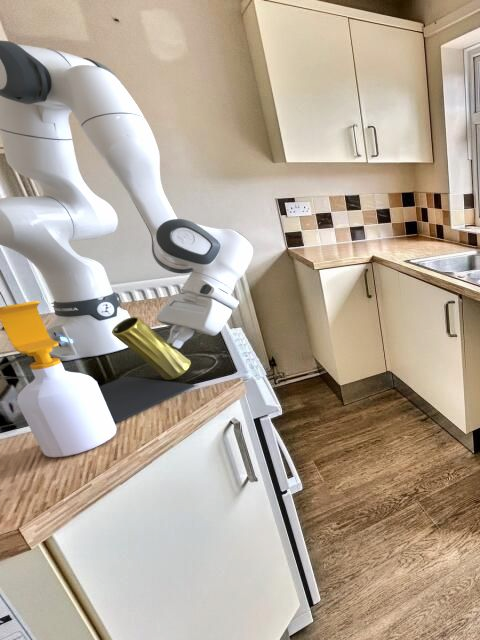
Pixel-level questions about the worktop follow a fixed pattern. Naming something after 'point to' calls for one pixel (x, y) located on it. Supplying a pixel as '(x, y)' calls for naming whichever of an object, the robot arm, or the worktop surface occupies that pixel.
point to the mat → (137, 395)
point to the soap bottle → (55, 390)
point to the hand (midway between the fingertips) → (172, 346)
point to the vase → (151, 348)
